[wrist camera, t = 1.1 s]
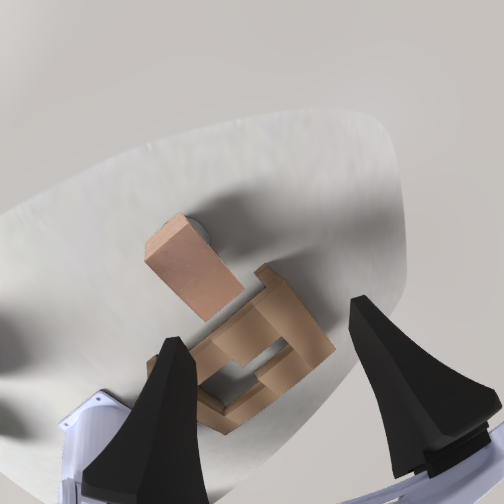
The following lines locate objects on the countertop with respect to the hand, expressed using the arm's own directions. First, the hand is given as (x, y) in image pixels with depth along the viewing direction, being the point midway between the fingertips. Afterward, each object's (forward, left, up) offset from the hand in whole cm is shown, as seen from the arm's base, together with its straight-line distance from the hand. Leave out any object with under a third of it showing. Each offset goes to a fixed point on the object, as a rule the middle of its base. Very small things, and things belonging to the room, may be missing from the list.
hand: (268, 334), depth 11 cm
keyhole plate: (-4, -9, -12) cm, 16 cm away
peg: (-1, +2, -12) cm, 12 cm away
